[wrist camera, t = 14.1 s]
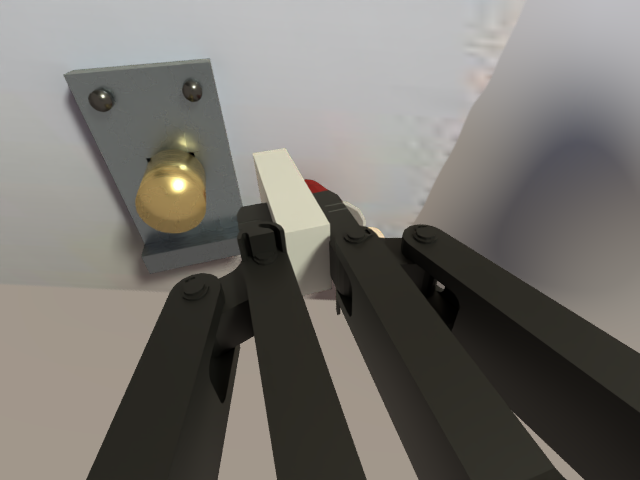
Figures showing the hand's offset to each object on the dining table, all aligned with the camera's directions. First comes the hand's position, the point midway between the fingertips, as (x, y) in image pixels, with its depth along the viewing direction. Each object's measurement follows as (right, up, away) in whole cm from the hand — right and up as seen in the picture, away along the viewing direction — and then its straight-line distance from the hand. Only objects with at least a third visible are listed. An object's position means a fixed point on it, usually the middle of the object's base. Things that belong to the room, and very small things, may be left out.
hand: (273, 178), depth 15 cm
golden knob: (-16, +7, +26) cm, 32 cm away
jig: (-17, +7, +27) cm, 32 cm away
